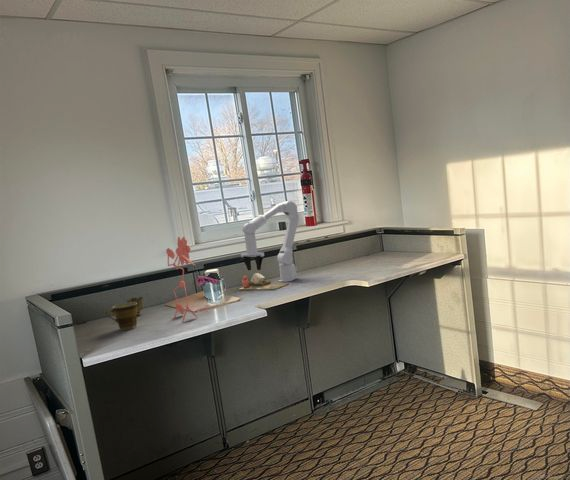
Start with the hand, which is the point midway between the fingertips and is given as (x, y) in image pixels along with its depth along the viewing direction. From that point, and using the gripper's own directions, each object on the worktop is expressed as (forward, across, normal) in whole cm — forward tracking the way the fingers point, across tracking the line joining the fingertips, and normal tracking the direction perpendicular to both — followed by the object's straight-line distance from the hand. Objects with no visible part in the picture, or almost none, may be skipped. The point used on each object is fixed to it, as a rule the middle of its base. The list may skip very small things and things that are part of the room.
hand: (254, 270), depth 276 cm
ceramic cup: (+9, -6, -83) cm, 84 cm away
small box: (+9, -11, -21) cm, 26 cm away
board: (+9, +7, -3) cm, 12 cm away
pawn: (+8, -1, -7) cm, 11 cm away
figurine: (+9, +11, -60) cm, 62 cm away
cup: (+9, -22, -63) cm, 68 cm away
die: (+7, 0, 0) cm, 7 cm away
